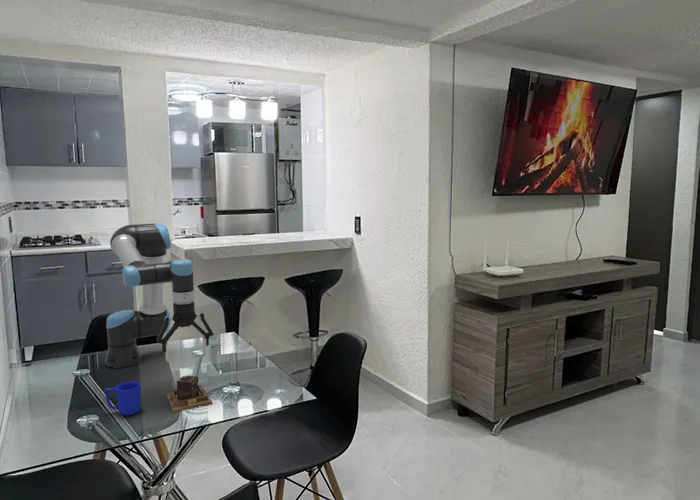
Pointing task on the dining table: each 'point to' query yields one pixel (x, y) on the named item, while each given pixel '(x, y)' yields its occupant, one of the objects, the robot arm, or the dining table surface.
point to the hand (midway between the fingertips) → (186, 357)
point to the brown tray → (188, 400)
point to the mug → (126, 397)
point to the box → (187, 387)
